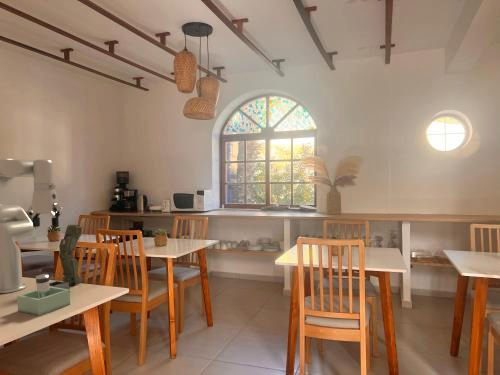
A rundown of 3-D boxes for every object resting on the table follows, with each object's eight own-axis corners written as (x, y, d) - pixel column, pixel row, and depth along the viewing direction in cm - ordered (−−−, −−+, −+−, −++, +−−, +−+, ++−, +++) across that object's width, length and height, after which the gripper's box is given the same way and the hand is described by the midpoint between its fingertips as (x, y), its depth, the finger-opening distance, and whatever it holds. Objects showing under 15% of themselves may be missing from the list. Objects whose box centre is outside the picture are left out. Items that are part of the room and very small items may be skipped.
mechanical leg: (64, 288, 162) (72, 223, 168) (50, 288, 163) (59, 223, 169) (84, 287, 175) (90, 226, 181) (71, 286, 176) (78, 226, 183)
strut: (44, 303, 143) (41, 273, 142) (53, 303, 142) (51, 274, 141) (35, 307, 138) (32, 277, 138) (45, 307, 138) (42, 277, 137)
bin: (18, 311, 137) (17, 295, 137) (50, 300, 149) (49, 286, 149) (38, 316, 131) (37, 300, 131) (70, 304, 143) (69, 289, 143)
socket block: (41, 296, 154) (40, 285, 154) (58, 291, 161) (57, 280, 161) (52, 299, 150) (52, 287, 150) (69, 293, 158) (69, 282, 157)
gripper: (67, 187, 157) (69, 225, 157) (34, 188, 161) (36, 225, 161) (54, 187, 150) (56, 227, 150) (20, 188, 153) (22, 227, 154)
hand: (45, 226), depth 156 cm, fingers open, 9 cm apart
